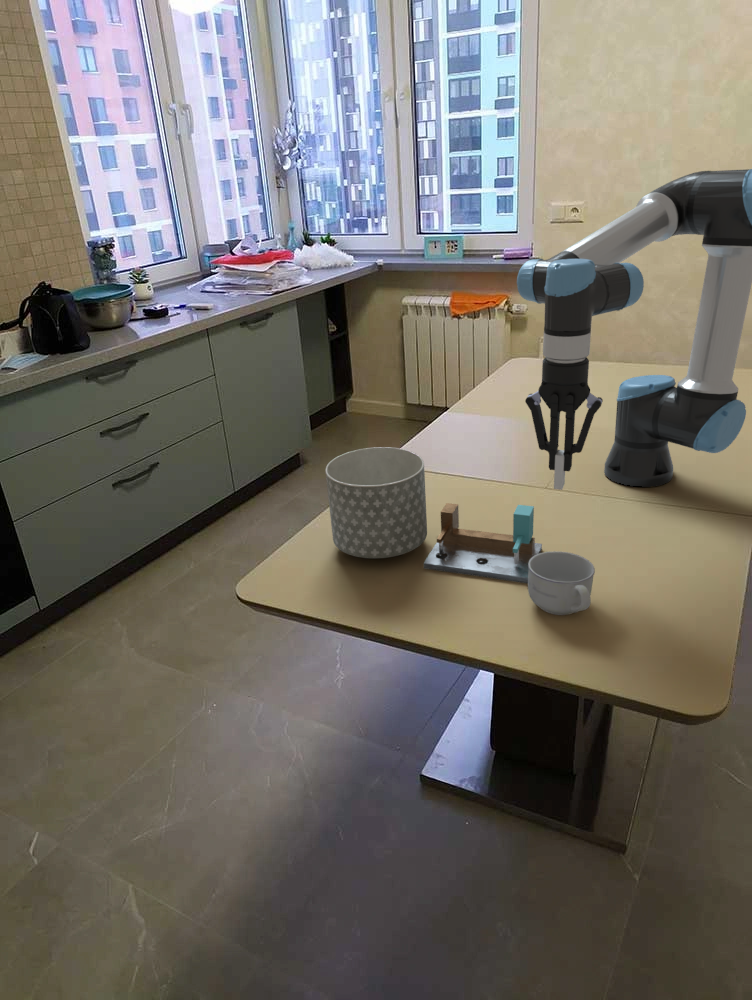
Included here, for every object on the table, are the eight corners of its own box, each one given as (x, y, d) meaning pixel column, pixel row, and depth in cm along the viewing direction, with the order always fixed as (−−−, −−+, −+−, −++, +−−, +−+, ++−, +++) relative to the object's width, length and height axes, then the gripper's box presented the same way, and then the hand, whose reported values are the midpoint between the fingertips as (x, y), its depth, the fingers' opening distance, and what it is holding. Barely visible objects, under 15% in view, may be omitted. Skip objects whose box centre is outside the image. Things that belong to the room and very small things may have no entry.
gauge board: (541, 549, 141) (543, 509, 137) (528, 583, 130) (529, 542, 127) (443, 536, 148) (442, 499, 145) (423, 568, 138) (421, 528, 134)
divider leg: (532, 543, 140) (533, 506, 136) (522, 568, 132) (523, 529, 128) (517, 541, 141) (518, 504, 137) (506, 565, 133) (507, 527, 129)
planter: (338, 527, 155) (329, 449, 147) (426, 523, 154) (422, 444, 146) (330, 574, 138) (320, 488, 130) (429, 569, 137) (425, 483, 129)
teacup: (520, 591, 128) (520, 552, 125) (579, 584, 129) (582, 545, 125) (542, 637, 116) (544, 595, 112) (608, 630, 116) (612, 588, 113)
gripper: (608, 353, 121) (599, 481, 131) (530, 350, 125) (527, 474, 135) (604, 364, 114) (593, 498, 125) (522, 361, 119) (518, 491, 129)
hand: (559, 486), depth 130 cm, fingers closed
